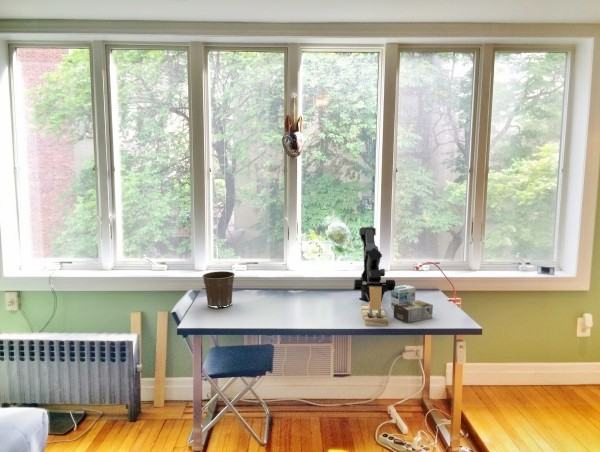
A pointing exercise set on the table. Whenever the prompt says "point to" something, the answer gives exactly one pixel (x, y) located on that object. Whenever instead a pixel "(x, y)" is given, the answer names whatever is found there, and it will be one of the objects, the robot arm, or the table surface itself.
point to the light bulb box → (402, 294)
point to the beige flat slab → (373, 317)
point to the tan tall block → (375, 299)
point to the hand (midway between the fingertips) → (375, 301)
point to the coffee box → (413, 311)
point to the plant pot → (219, 288)
